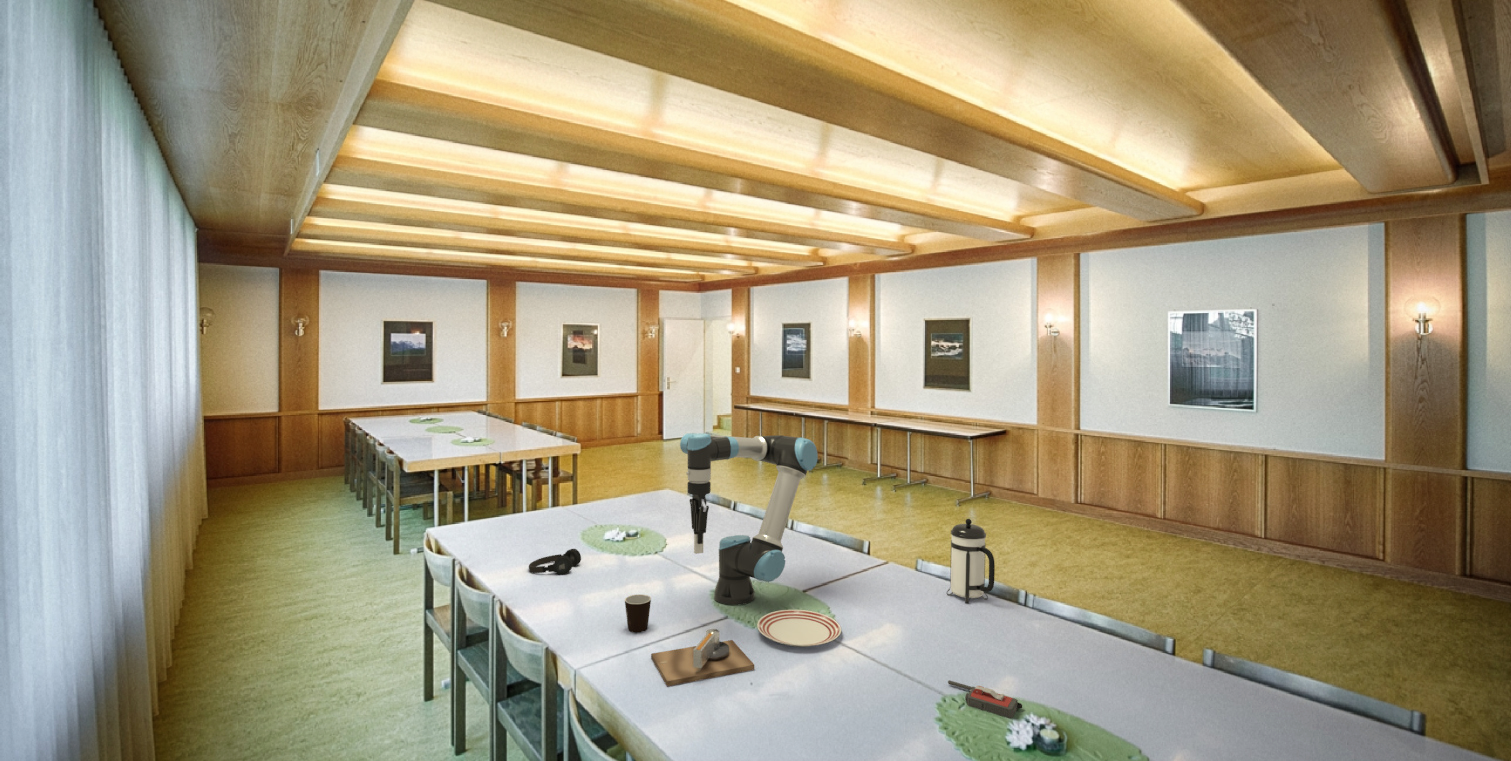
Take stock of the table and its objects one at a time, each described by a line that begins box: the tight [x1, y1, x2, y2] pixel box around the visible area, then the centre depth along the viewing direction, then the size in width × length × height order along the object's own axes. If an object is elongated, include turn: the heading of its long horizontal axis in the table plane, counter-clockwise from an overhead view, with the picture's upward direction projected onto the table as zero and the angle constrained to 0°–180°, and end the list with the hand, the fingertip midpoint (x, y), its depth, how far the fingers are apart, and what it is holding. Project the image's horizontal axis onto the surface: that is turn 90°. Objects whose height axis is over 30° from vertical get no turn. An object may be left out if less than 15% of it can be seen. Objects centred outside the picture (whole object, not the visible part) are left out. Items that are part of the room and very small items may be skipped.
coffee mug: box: [624, 594, 652, 634], centre depth 220 cm, size 12×9×10 cm
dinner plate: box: [756, 609, 842, 648], centre depth 216 cm, size 28×27×3 cm
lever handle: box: [693, 628, 729, 668], centre depth 194 cm, size 18×10×7 cm, turn 165°
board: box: [650, 639, 755, 687], centre depth 194 cm, size 26×18×2 cm
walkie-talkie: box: [947, 680, 1023, 719], centre depth 175 cm, size 9×4×20 cm
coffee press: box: [946, 518, 996, 604], centre depth 249 cm, size 17×16×30 cm
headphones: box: [528, 548, 582, 576], centre depth 279 cm, size 17×7×20 cm
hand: (698, 552), depth 216 cm, fingers closed
